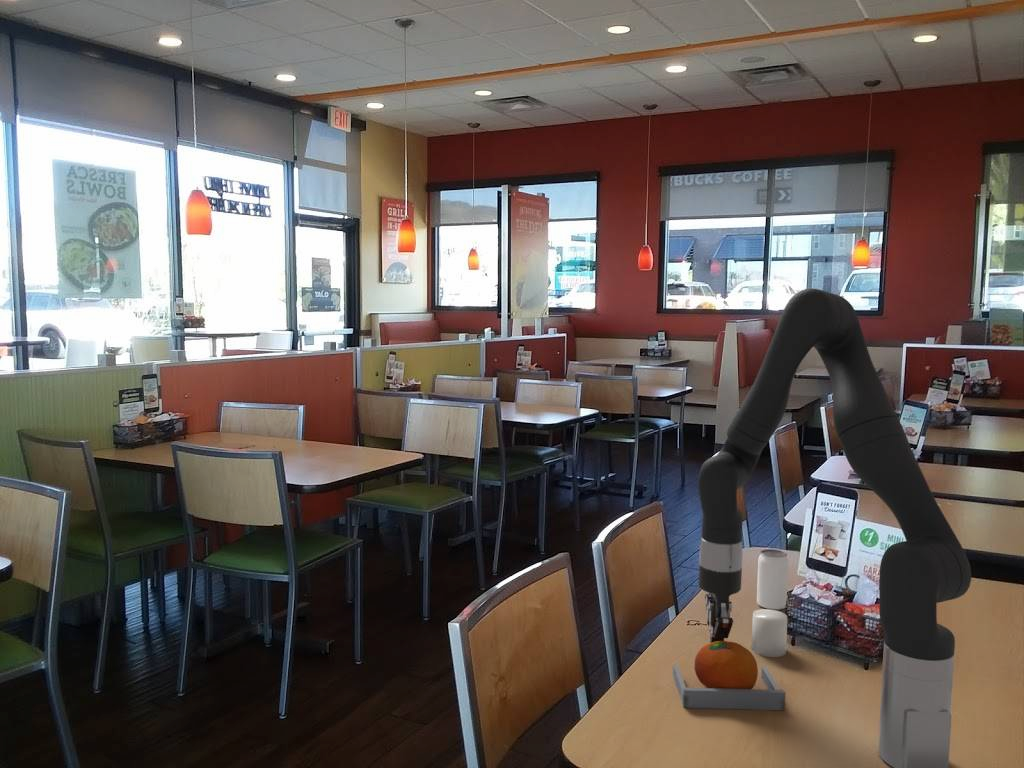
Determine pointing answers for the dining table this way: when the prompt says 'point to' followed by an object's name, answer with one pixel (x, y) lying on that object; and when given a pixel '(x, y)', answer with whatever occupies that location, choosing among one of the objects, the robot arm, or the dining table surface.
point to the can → (772, 579)
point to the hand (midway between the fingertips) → (716, 654)
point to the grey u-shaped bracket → (732, 695)
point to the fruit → (726, 666)
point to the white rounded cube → (769, 633)
